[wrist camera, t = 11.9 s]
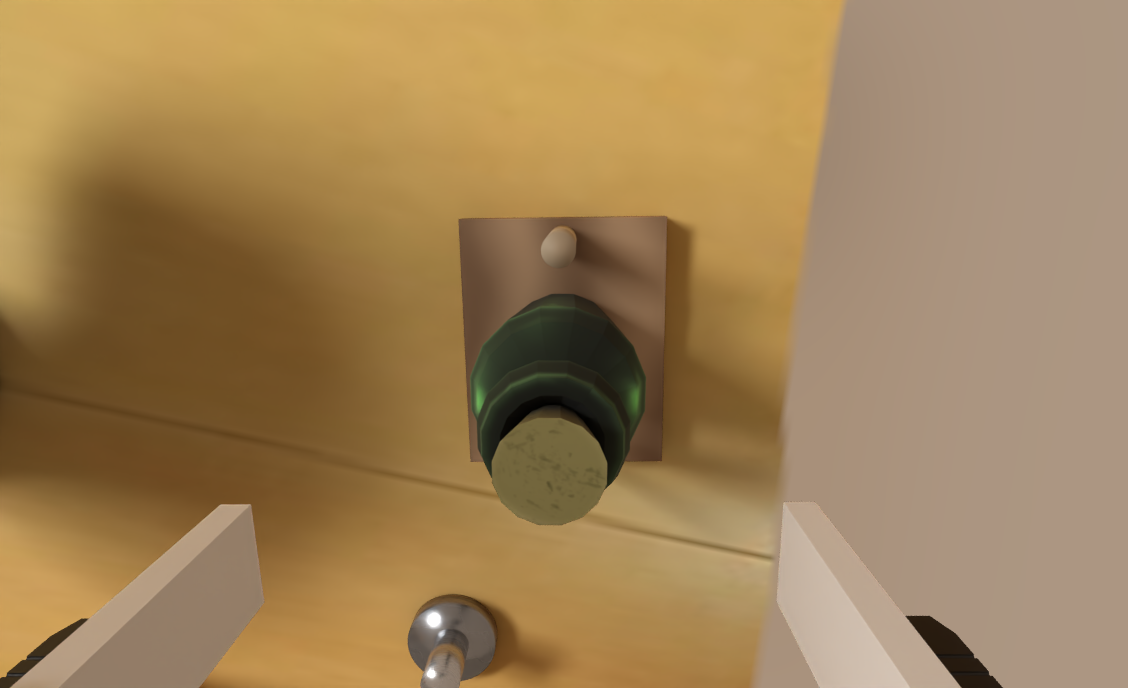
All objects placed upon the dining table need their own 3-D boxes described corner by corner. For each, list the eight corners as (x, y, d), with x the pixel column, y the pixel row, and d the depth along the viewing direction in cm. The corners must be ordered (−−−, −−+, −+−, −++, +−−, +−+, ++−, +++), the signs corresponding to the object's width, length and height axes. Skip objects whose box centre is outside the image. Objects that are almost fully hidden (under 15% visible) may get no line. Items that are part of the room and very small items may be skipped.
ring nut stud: (415, 668, 45) (395, 725, 40) (409, 594, 44) (388, 643, 39) (498, 669, 45) (489, 726, 40) (495, 594, 44) (485, 644, 39)
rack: (474, 452, 41) (444, 525, 32) (463, 218, 38) (426, 225, 29) (658, 451, 41) (681, 525, 32) (663, 215, 38) (691, 222, 29)
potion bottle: (470, 363, 39) (379, 502, 21) (543, 251, 37) (511, 301, 19) (581, 434, 39) (582, 624, 22) (657, 328, 38) (725, 441, 20)
